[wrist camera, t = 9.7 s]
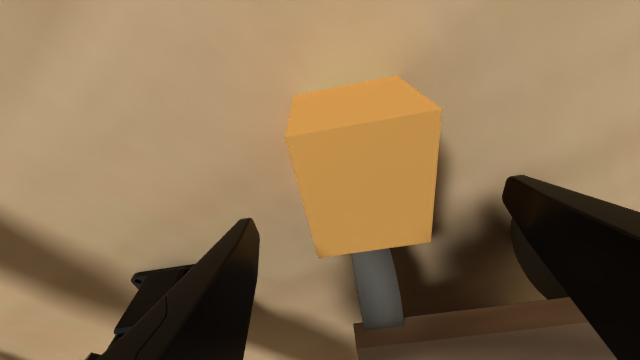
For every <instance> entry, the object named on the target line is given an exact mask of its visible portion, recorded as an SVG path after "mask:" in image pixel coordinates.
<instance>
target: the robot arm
mask: <svg viewBox="0 0 640 360" xmlns="http://www.w3.org/2000/svg"><path fill="white" fill-rule="evenodd" d="M502 200H503V203H504V204H505V206H506V208H507V209H508V211H509V213H510V214H511V216H512V218H513V219H514V221H515V223H516V224H517V226H518V228H519V229H520V231H521V233H522V234H523V236H524V237H525V239H526V240H527V242H528V243H529V245H530V246H531V247H532V249H533V250H534V251H535V252H536V254H537V255H538V256H539V258H540V259H541V260H542V262H543V263H544V264H545V266H546V267H547V268H548V270H549V271H550V272H551V273H552V275H553V276H554V277H555V279H556V280H557V281H558V283H559V284H560V285H561V287H562V288H563V289H564V291H565V292H566V293H567V294H568V296H569V297H570V298H571V300H572V301H573V302H574V304H575V305H576V306H577V308H578V309H579V310H580V312H581V313H582V314H583V315H584V317H585V318H586V319H587V321H588V322H589V323H590V325H591V326H592V327H593V329H594V330H595V331H596V333H597V334H598V335H599V336H600V338H601V339H602V340H603V342H604V343H605V344H606V346H607V347H608V348H609V350H610V351H611V352H612V354H613V355H614V356H615V357H616V359H617V360H640V212H637V211H634V210H631V209H628V208H625V207H622V206H619V205H616V204H612V203H609V202H606V201H603V200H600V199H597V198H594V197H590V196H587V195H584V194H581V193H578V192H575V191H572V190H568V189H565V188H562V187H559V186H556V185H553V184H550V183H547V182H543V181H540V180H537V179H534V178H531V177H528V176H525V175H517V176H511V177H508V178H507V180H506V183H505V187H504V191H503V194H502ZM259 243H260V236H259V233H258V230H257V228H256V226H255V223H254V221H253V219H252V218H245V219H240V220H239V221H238V222H237V223H236V224H235V225H234V226H233V227H232V228H231V229H230V230H229V231H228V232H227V233H226V234H225V235H224V236H223V237H222V238H221V239H220V240H219V241H218V242H217V243H216V244H215V245H214V246H213V247H212V248H211V249H210V250H209V251H208V252H207V253H206V254H205V255H204V256H203V257H202V258H201V259H200V260H199V261H198V262H197V263H196V264H193V265H186V266H179V267H172V268H166V269H159V270H152V271H145V272H139V273H135V274H134V275H133V277H132V278H131V282H132V283H133V284H134V285H135V286H136V287H137V288H138V289H139V290H138V292H137V293H136V295H135V297H134V298H133V300H132V301H131V303H130V305H129V306H128V308H127V310H126V311H125V313H124V314H123V316H122V318H121V319H120V321H119V322H118V324H117V326H116V327H115V329H114V334H115V337H114V339H113V340H112V342H111V344H110V345H109V347H108V349H107V350H106V351H105V352H104V353H103V354H102V355H99V354H95V353H92V352H91V353H90V354H89V355H88V356H87V358H86V359H85V360H243V357H244V351H245V345H246V340H247V334H248V328H249V323H250V317H251V311H252V306H253V300H254V294H255V289H256V283H257V275H258V260H259Z"/></svg>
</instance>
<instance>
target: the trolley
mask: <svg viewBox="0 0 640 360" xmlns="http://www.w3.org/2000/svg"><path fill="white" fill-rule="evenodd" d="M511 239H512V244H513V248H514V251H515V254H516V257H517V259H518V262H519V264H520V266H521V268H522V269H523V271H524V273H525V274H526V276H527V277H528V279H529V280H530V282H531V283H532V284H533V285H534V287H535V288H536V289H537V290H538V291H539V292H540V293H541V294H542V295H543V296H544V297H546V298H547V299H548V300H542V301H534V302H526V303H518V304H510V305H502V306H493V307H485V308H477V309H469V310H461V311H453V312H445V313H436V314H428V315H420V316H412V317H404V318H403V309H402V302H401V296H400V290H399V285H398V280H397V276H396V271H395V267H394V263H393V259H392V255H391V251H390V248H386V249H379V250H372V251H365V252H358V253H351V255H352V261H353V267H354V273H355V279H356V285H357V291H358V297H359V303H360V309H361V315H362V321H363V323H355V324H353V325H354V333H355V340H356V348H357V353H358V357H359V360H617V359H616V357H615V356H614V355H613V354H612V352H611V351H610V350H609V348H608V347H607V346H606V344H605V343H604V342H603V340H602V339H601V338H600V336H599V335H598V334H597V333H596V331H595V330H594V329H593V327H592V326H591V325H590V323H589V322H588V321H587V319H586V318H585V317H584V315H583V314H582V313H581V312H580V310H579V309H578V308H577V306H576V305H575V304H574V302H573V301H572V300H571V298H570V297H569V296H568V294H567V293H566V292H565V291H564V289H563V288H562V287H561V285H560V284H559V283H558V281H557V280H556V279H555V277H554V276H553V275H552V273H551V272H550V271H549V270H548V268H547V267H546V266H545V264H544V263H543V262H542V260H541V259H540V258H539V256H538V255H537V254H536V252H535V251H534V250H533V249H532V247H531V246H530V245H529V243H528V242H527V240H526V239H525V237H524V236H523V234H522V233H521V231H520V229H519V228H518V226H517V224H516V223H515V221H514V219H513V218H512V222H511Z"/></svg>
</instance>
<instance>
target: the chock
mask: <svg viewBox="0 0 640 360" xmlns="http://www.w3.org/2000/svg"><path fill="white" fill-rule="evenodd" d="M441 115H442V109H441V108H440V107H439V106H437V105H436V104H435V103H433V102H432V101H431V100H429V99H428V98H427V97H425V96H424V95H423V94H421V93H420V92H419V91H417V90H416V89H415V88H413V87H412V86H411V85H409V84H408V83H407V82H406V81H404V80H403V79H402V78H400V77H399V76H393V77H388V78H383V79H378V80H373V81H367V82H362V83H357V84H352V85H346V86H341V87H336V88H331V89H326V90H320V91H315V92H310V93H305V94H300V95H294V97H293V101H292V106H291V111H290V115H289V120H288V124H287V129H286V134H285V140H286V144H287V147H288V151H289V154H290V158H291V162H292V165H293V169H294V173H295V176H296V180H297V183H298V187H299V191H300V194H301V198H302V201H303V205H304V209H305V212H306V216H307V220H308V223H309V227H310V230H311V234H312V238H313V241H314V245H315V249H316V252H317V256H318V258H322V257H329V256H336V255H343V254H350V253H358V252H365V251H372V250H379V249H386V248H393V247H400V246H407V245H414V244H421V243H429V242H431V232H432V220H433V209H434V197H435V185H436V174H437V162H438V150H439V139H440V127H441Z"/></svg>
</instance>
